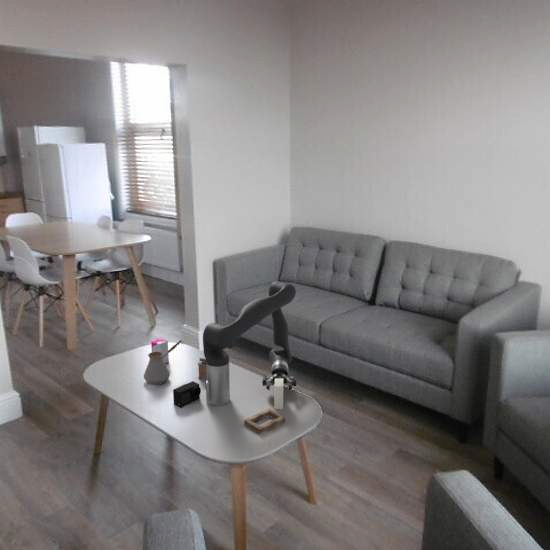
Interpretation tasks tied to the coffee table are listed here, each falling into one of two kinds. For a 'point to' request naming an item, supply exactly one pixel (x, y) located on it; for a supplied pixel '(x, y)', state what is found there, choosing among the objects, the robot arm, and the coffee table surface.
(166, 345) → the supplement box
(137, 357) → the coffee table surface
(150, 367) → the coffee pot
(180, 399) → the digital camera
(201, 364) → the lighter
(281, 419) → the frame
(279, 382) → the key block
